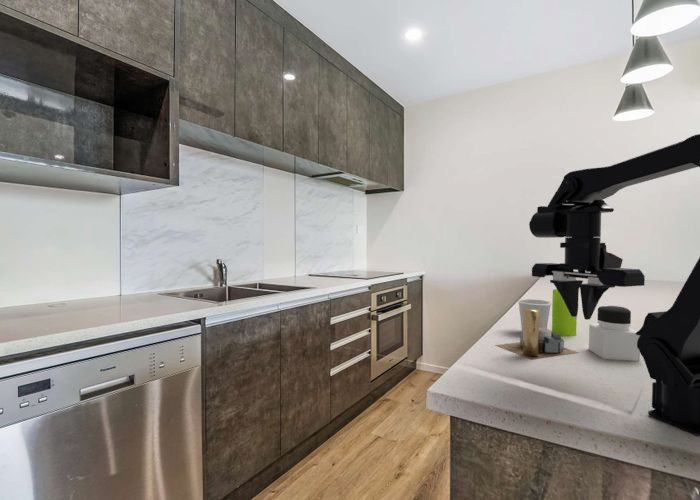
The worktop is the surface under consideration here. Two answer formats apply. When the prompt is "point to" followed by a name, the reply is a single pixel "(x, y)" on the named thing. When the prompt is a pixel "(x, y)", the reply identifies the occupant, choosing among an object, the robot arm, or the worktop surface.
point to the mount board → (542, 333)
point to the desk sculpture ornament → (537, 336)
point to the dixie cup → (539, 305)
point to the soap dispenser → (562, 317)
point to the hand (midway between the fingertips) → (580, 317)
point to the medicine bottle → (614, 335)
